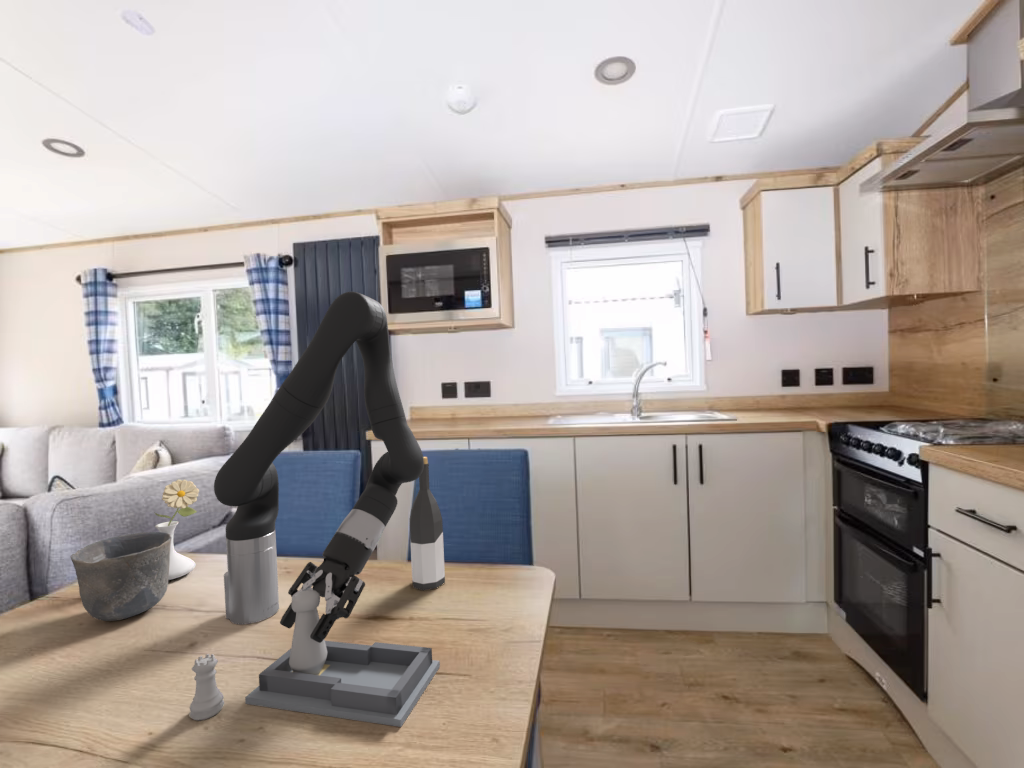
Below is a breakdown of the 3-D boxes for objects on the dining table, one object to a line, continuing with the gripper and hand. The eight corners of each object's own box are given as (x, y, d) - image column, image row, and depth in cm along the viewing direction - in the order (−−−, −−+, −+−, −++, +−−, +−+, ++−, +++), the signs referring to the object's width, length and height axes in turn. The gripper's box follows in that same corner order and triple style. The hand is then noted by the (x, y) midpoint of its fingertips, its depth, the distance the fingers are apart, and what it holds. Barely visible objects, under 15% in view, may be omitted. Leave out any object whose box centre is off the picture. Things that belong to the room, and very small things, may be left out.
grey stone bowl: (53, 625, 100) (49, 554, 100) (144, 589, 116) (141, 528, 116) (104, 640, 93) (100, 564, 93) (193, 599, 109) (190, 535, 109)
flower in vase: (137, 590, 116) (131, 488, 116) (147, 574, 126) (142, 480, 126) (200, 578, 122) (195, 481, 122) (205, 563, 132) (201, 473, 132)
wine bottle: (417, 575, 118) (412, 454, 117) (449, 576, 117) (444, 454, 116) (406, 590, 110) (400, 460, 109) (440, 591, 109) (434, 460, 108)
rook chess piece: (200, 702, 73) (197, 651, 73) (230, 700, 74) (227, 648, 74) (182, 723, 69) (179, 669, 69) (214, 720, 69) (212, 666, 69)
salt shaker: (313, 685, 75) (309, 602, 75) (281, 681, 76) (277, 600, 76) (334, 662, 80) (331, 586, 80) (304, 660, 82) (301, 584, 81)
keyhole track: (439, 666, 80) (439, 646, 80) (401, 726, 66) (400, 702, 66) (305, 651, 86) (305, 632, 86) (245, 703, 73) (244, 681, 73)
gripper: (317, 525, 88) (258, 613, 79) (368, 536, 80) (309, 636, 71) (343, 544, 92) (290, 630, 83) (393, 557, 85) (341, 654, 75)
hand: (299, 633), depth 77 cm, fingers open, 8 cm apart
